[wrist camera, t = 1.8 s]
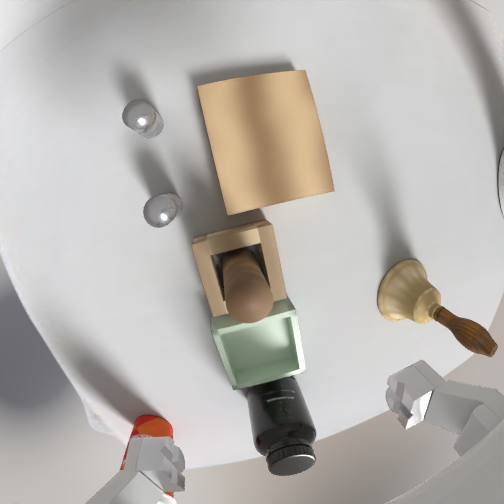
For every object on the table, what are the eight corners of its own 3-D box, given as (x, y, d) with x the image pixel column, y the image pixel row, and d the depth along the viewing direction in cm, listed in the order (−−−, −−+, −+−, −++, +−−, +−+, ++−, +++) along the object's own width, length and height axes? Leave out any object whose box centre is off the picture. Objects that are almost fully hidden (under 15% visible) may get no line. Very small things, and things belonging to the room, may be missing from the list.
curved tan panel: (297, 78, 23) (305, 70, 21) (324, 190, 26) (334, 191, 24) (198, 94, 22) (197, 86, 20) (226, 212, 26) (227, 215, 23)
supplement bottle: (280, 363, 30) (308, 440, 19) (307, 390, 32) (337, 459, 21) (234, 391, 31) (245, 469, 19) (265, 415, 33) (282, 485, 21)
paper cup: (181, 415, 31) (176, 501, 18) (178, 443, 33) (175, 518, 19) (126, 404, 30) (104, 486, 16) (129, 434, 31) (115, 506, 18)
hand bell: (398, 248, 29) (504, 299, 13) (434, 273, 31) (522, 322, 15) (365, 309, 30) (449, 390, 15) (404, 326, 32) (479, 393, 17)
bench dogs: (161, 110, 22) (148, 95, 17) (184, 214, 25) (177, 222, 20) (137, 118, 22) (120, 105, 17) (160, 221, 25) (148, 231, 20)
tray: (287, 296, 28) (295, 309, 25) (298, 356, 30) (305, 371, 28) (211, 316, 28) (211, 330, 25) (231, 373, 30) (233, 390, 27)
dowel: (251, 243, 26) (268, 274, 18) (258, 273, 27) (277, 316, 18) (218, 251, 26) (220, 286, 17) (226, 281, 27) (232, 328, 18)
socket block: (266, 219, 26) (272, 224, 23) (280, 286, 28) (287, 298, 25) (194, 237, 25) (191, 244, 22) (213, 303, 27) (213, 317, 24)
